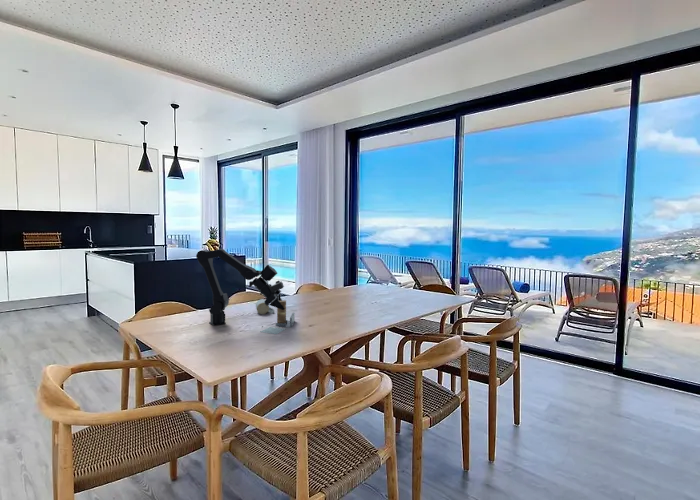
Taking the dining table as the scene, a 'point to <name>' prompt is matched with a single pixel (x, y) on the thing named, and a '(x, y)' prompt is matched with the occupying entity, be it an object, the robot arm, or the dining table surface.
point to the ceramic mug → (263, 307)
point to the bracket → (287, 322)
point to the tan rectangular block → (281, 313)
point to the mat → (273, 330)
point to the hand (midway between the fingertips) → (284, 308)
